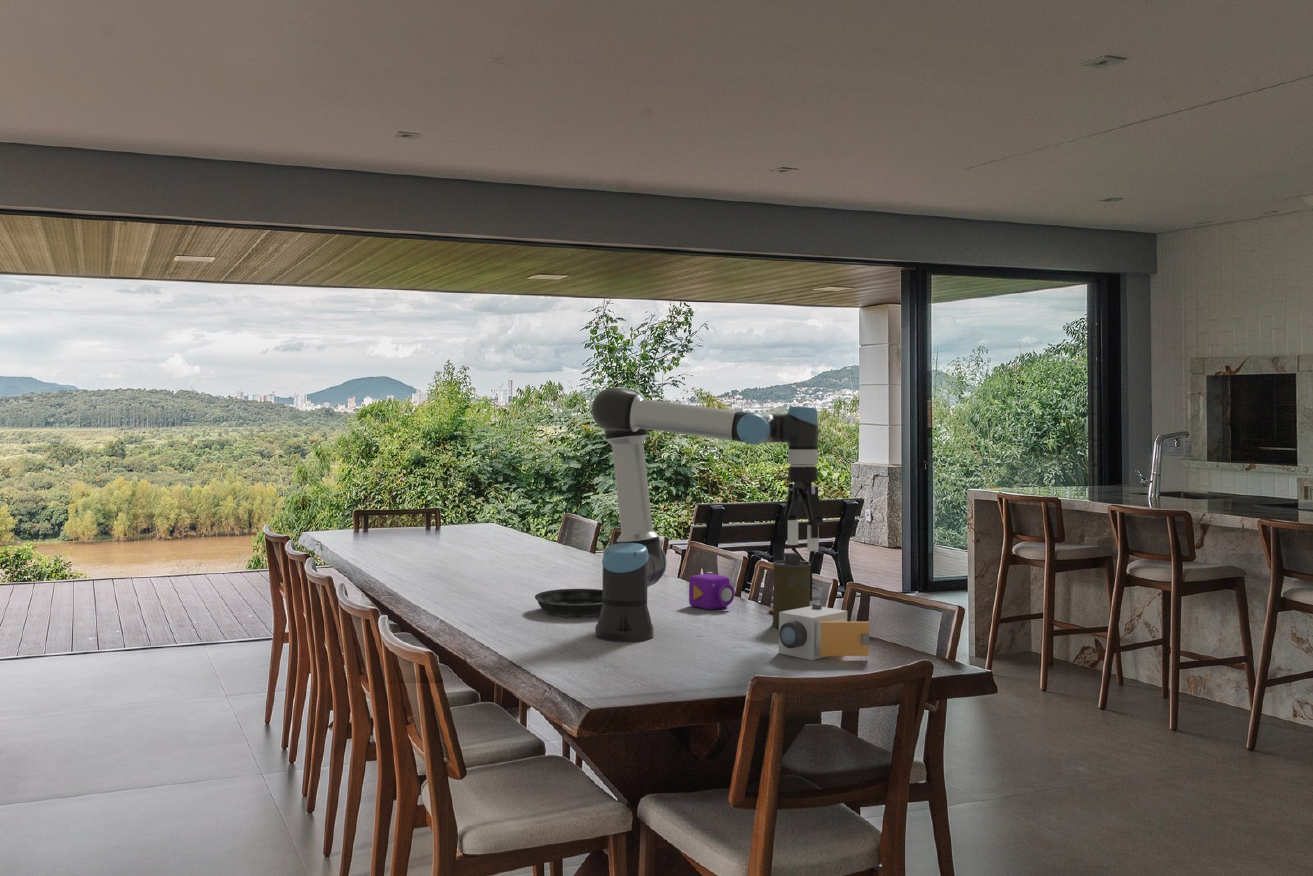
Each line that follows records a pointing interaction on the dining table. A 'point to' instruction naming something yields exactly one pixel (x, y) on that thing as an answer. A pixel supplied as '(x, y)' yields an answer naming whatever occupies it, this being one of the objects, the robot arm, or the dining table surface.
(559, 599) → the frying pan
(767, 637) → the dining table surface
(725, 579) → the toy camera
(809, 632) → the camera body
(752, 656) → the dining table surface
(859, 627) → the battery door
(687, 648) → the dining table surface
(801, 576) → the canister
